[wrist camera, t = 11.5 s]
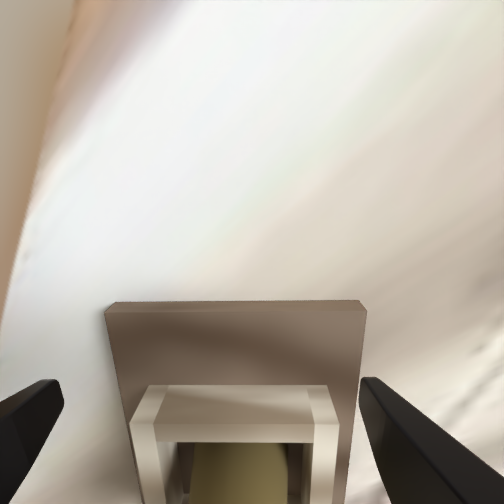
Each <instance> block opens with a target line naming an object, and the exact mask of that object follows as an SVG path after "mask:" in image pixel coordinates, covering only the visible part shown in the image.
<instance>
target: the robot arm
mask: <svg viewBox="0 0 504 504" xmlns="http://www.w3.org/2000/svg"><path fill="white" fill-rule="evenodd" d="M63 407H64V398H63V394H62V391H61V388H60V384H59V382H58V381H57V380H55V379H43V380H40V381H38V382H36V383H34V384H32V385H30V386H29V387H27V388H25V389H23V390H21V391H19V392H18V393H16V394H14V395H12V396H10V397H8V398H7V399H5V400H3V401H1V402H0V504H9V502H10V501H11V499H12V498H13V496H14V494H15V493H16V491H17V490H18V488H19V487H20V485H21V483H22V482H23V480H24V479H25V477H26V475H27V474H28V472H29V471H30V469H31V467H32V465H33V464H34V462H35V460H36V458H37V456H38V455H39V453H40V451H41V449H42V447H43V445H44V443H45V442H46V440H47V438H48V436H49V434H50V432H51V430H52V428H53V427H54V425H55V423H56V421H57V419H58V417H59V415H60V413H61V412H62V409H63ZM359 408H360V411H361V415H362V418H363V421H364V425H365V428H366V432H367V435H368V438H369V442H370V445H371V448H372V452H373V455H374V459H375V462H376V465H377V468H378V471H379V473H380V476H381V479H382V481H383V484H384V486H385V489H386V491H387V494H388V496H389V499H390V501H391V504H504V477H503V476H502V475H500V474H499V473H498V472H497V471H495V470H494V469H493V468H491V467H490V466H489V465H488V464H486V463H485V462H484V461H483V460H481V459H480V458H479V457H478V456H476V455H475V454H474V453H472V452H471V451H470V450H469V449H467V448H466V447H465V446H464V445H462V444H461V443H460V442H458V441H457V440H456V439H455V438H453V437H452V436H451V435H450V434H448V433H447V432H446V431H444V430H443V429H442V428H441V427H439V426H438V425H437V424H436V423H434V422H433V421H432V420H431V419H429V418H428V417H427V416H425V415H424V414H423V413H422V412H420V411H419V410H418V409H417V408H415V407H414V406H413V405H411V404H410V403H409V402H408V401H406V400H405V399H404V398H403V397H401V396H400V395H399V394H398V393H396V392H395V391H394V390H392V389H391V388H390V387H389V386H387V385H386V384H385V383H384V382H382V381H381V380H380V379H378V378H377V377H363V378H362V379H361V382H360V391H359Z"/></svg>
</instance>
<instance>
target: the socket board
mask: <svg viewBox="0 0 504 504" xmlns="http://www.w3.org/2000/svg"><path fill="white" fill-rule="evenodd" d="M104 314H105V319H106V324H107V329H108V334H109V339H110V344H111V349H112V354H113V359H114V364H115V369H116V374H117V379H118V384H119V389H120V394H121V399H122V403H123V408H124V413H125V418H126V423H127V428H128V433H129V438H130V443H131V448H132V453H133V458H134V463H135V468H136V473H137V478H138V483H139V487H140V492H141V497H142V502H143V504H188V502H189V492H190V482H191V473H192V463H193V453H194V444H195V442H259V443H287V446H288V488H287V504H344V501H345V492H346V484H347V475H348V467H349V458H350V450H351V442H352V433H353V425H354V416H355V408H356V400H357V391H358V383H359V374H360V366H361V357H362V349H363V341H364V332H365V324H366V315H367V310H366V309H365V308H364V306H363V305H362V304H361V303H360V301H359V300H328V301H194V302H115V303H114V304H113V305H112V306H111V307H110V308H109V309H107V310H106V311H105V312H104Z"/></svg>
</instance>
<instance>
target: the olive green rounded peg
mask: <svg viewBox="0 0 504 504" xmlns="http://www.w3.org/2000/svg"><path fill="white" fill-rule="evenodd" d="M287 488H288V446H287V443H259V442H195V444H194V453H193V463H192V473H191V482H190V492H189V502H188V504H287Z"/></svg>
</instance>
